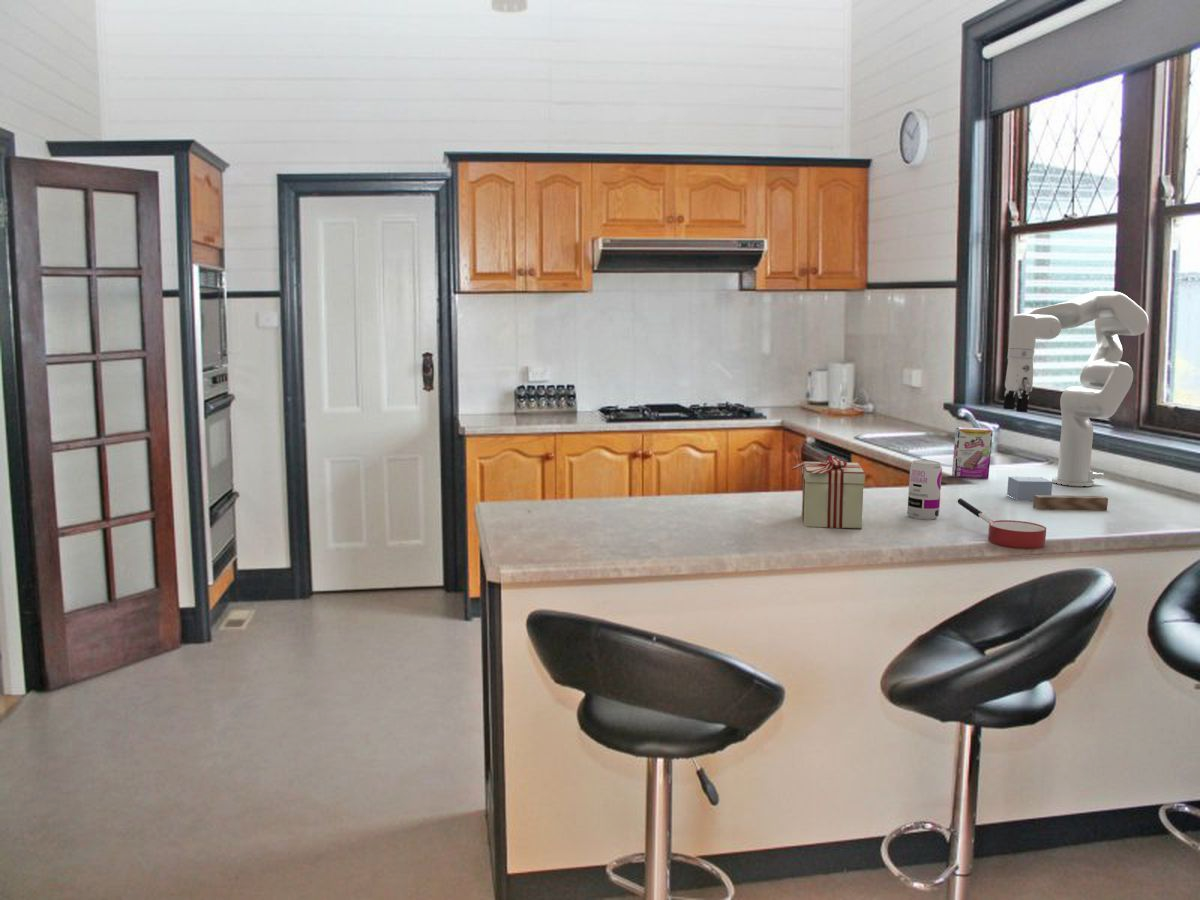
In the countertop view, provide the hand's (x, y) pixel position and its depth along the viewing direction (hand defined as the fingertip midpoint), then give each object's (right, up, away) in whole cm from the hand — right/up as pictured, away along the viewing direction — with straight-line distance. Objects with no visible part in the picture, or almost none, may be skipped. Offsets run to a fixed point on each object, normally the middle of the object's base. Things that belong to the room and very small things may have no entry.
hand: (1015, 410), depth 337 cm
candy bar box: (-5, -22, +26) cm, 34 cm away
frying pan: (-30, -34, -62) cm, 77 cm away
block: (0, -27, -10) cm, 29 cm away
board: (+6, -29, -25) cm, 39 cm away
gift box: (-69, -31, -53) cm, 93 cm away
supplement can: (-41, -31, -42) cm, 66 cm away
